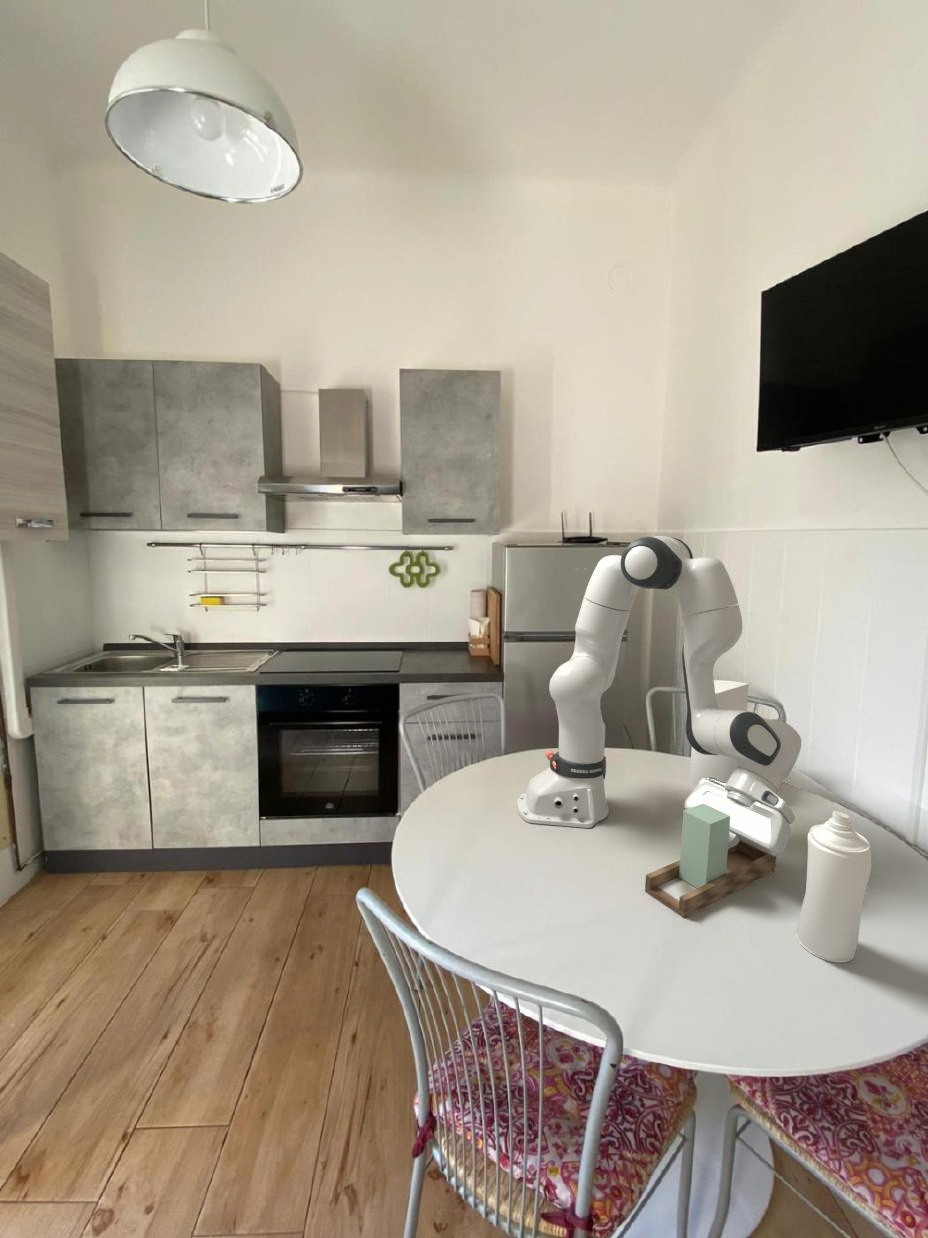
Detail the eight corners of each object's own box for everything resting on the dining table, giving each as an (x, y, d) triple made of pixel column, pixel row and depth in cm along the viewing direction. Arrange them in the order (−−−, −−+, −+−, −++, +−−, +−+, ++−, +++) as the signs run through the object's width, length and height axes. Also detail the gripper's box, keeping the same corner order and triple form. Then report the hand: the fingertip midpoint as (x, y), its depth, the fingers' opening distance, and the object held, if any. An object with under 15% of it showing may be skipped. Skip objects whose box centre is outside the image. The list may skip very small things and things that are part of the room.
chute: (734, 850, 126) (735, 835, 126) (774, 871, 119) (776, 855, 118) (644, 891, 112) (645, 875, 112) (683, 918, 105) (685, 900, 104)
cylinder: (676, 787, 157) (682, 686, 153) (711, 771, 167) (718, 677, 163) (738, 812, 143) (746, 702, 139) (772, 793, 154) (781, 691, 149)
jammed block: (698, 868, 118) (703, 803, 115) (725, 883, 113) (730, 815, 110) (678, 877, 115) (683, 810, 112) (705, 893, 110) (710, 824, 107)
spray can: (884, 970, 92) (903, 824, 88) (827, 981, 90) (844, 831, 86) (825, 922, 103) (839, 790, 100) (773, 931, 101) (786, 796, 97)
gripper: (698, 766, 125) (665, 820, 122) (793, 805, 108) (757, 869, 105) (710, 781, 128) (678, 834, 125) (804, 821, 111) (769, 884, 108)
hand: (715, 851), depth 115 cm, fingers closed, pressing on jammed block
